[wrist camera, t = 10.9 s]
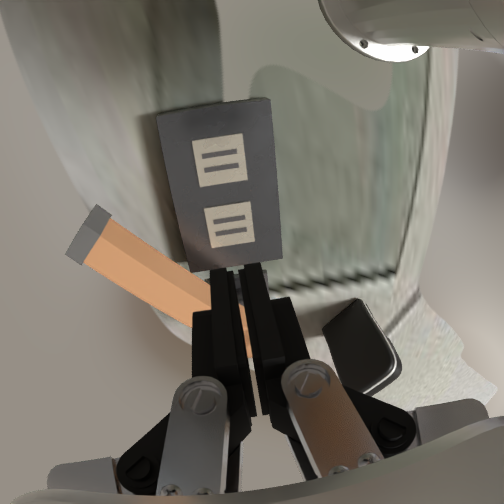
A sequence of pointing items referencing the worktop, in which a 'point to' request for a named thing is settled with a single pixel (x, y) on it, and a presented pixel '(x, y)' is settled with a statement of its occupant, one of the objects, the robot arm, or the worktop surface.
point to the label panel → (223, 182)
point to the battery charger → (361, 350)
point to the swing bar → (142, 269)
